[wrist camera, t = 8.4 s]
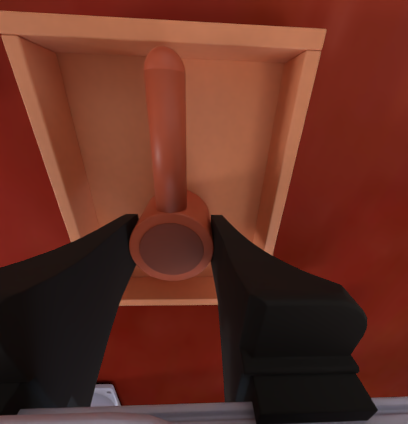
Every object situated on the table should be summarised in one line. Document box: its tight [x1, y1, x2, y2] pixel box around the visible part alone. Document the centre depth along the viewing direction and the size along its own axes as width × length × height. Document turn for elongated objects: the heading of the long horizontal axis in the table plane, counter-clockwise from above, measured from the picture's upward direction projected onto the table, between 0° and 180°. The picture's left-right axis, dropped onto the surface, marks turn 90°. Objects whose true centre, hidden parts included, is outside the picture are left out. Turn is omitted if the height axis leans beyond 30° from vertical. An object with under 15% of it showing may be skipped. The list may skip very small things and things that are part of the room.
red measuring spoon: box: [129, 46, 214, 281], centre depth 9 cm, size 10×4×3 cm, turn 178°
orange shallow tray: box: [0, 11, 327, 306], centre depth 11 cm, size 14×11×2 cm
